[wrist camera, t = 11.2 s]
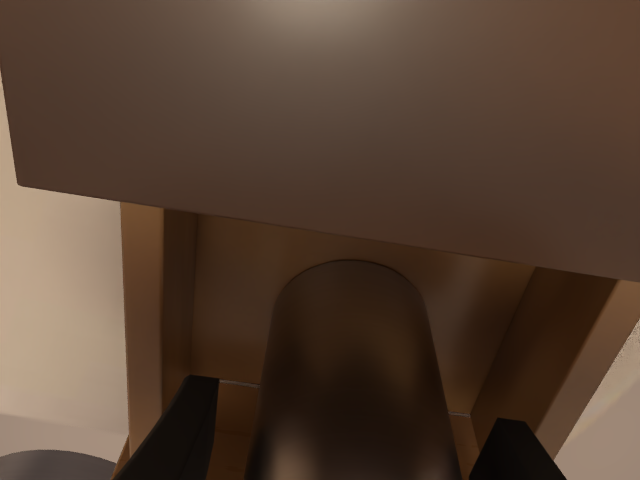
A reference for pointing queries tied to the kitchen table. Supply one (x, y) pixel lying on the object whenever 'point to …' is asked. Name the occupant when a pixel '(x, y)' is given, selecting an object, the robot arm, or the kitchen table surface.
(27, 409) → the kitchen table surface
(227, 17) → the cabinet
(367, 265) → the metal canister
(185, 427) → the robot arm
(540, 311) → the drawer
